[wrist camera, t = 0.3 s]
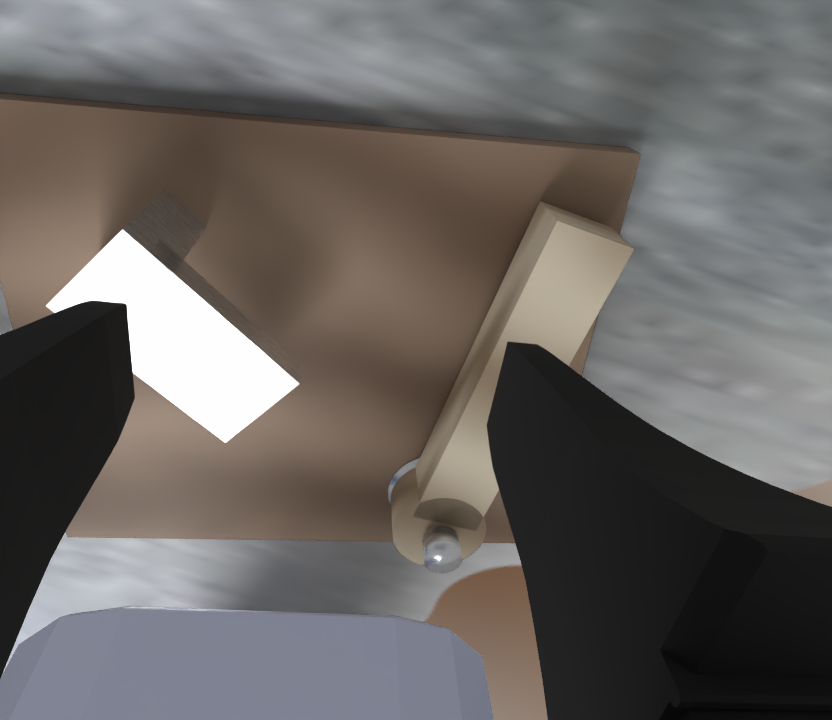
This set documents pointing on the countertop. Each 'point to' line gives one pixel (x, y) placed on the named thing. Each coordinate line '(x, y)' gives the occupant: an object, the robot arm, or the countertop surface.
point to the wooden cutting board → (290, 291)
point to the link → (475, 386)
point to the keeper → (201, 337)
